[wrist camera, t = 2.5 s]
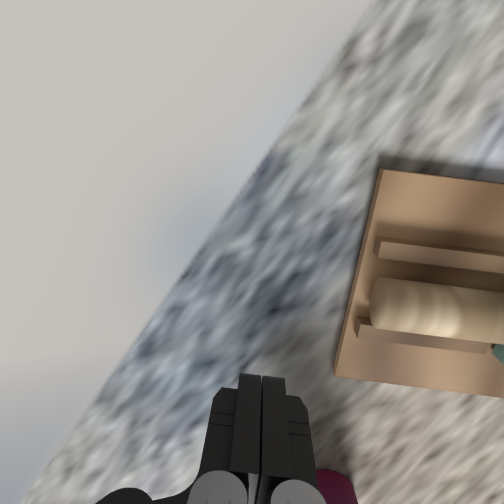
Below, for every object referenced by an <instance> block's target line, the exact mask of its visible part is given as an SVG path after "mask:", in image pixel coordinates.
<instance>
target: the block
mask: <svg viewBox="0 0 504 504" xmlns="http://www.w3.org/2000/svg"><path fill="white" fill-rule="evenodd" d="M492 354H493V355H494V356H495V357H496V358H497V359H498V360H499V361H500V362H501V363H502V364H503V365H504V345H503V344H495V346H494V349H493V351H492Z"/></svg>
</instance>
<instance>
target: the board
mask: <svg viewBox="0 0 504 504" xmlns="http://www.w3.org/2000/svg"><path fill="white" fill-rule="evenodd" d="M379 277H385V278H393V279H401V280H409V281H417V282H424V283H432V284H440V285H448V286H456V287H464V288H472V289H480V290H488V291H496V292H504V184H503V183H495V182H487V181H479V180H471V179H463V178H454V177H446V176H438V175H430V174H422V173H414V172H406V171H398V170H390V169H382V168H379V173H378V177H377V181H376V185H375V190H374V194H373V198H372V203H371V207H370V211H369V216H368V220H367V224H366V228H365V233H364V237H363V241H362V246H361V250H360V254H359V259H358V263H357V267H356V271H355V276H354V280H353V284H352V289H351V293H350V297H349V302H348V306H347V310H346V314H345V319H344V323H343V327H342V332H341V336H340V340H339V344H338V349H337V353H336V357H335V362H334V366H333V372H334V376H335V377H342V378H350V379H358V380H366V381H374V382H382V383H389V384H397V385H405V386H413V387H421V388H429V389H437V390H445V391H453V392H461V393H469V394H476V395H484V396H492V397H500V398H504V365H503V364H502V363H501V362H500V361H499V360H498V359H497V358H496V357H495V356H494V355H493V354H492V351H493V349H494V346H495V343H487V342H479V341H471V340H463V339H455V338H447V337H439V336H431V335H423V334H415V333H407V332H399V331H391V330H383V329H376V328H374V327H373V325H372V323H371V320H370V314H369V302H370V295H371V291H372V287H373V285H374V283H375V281H376V280H377V279H378V278H379Z"/></svg>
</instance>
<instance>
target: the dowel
mask: <svg viewBox="0 0 504 504" xmlns="http://www.w3.org/2000/svg"><path fill="white" fill-rule="evenodd" d="M369 314H370V320H371V323H372V325H373V327H374V328H376V329H383V330H391V331H399V332H407V333H415V334H423V335H431V336H439V337H447V338H455V339H463V340H471V341H479V342H487V343H495V344H503V345H504V292H496V291H488V290H480V289H472V288H464V287H456V286H448V285H440V284H432V283H424V282H417V281H409V280H401V279H393V278H385V277H379V278H378V279H377V280H376V281H375V283H374V285H373V287H372V291H371V295H370V302H369Z"/></svg>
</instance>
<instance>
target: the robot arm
mask: <svg viewBox="0 0 504 504" xmlns="http://www.w3.org/2000/svg"><path fill="white" fill-rule="evenodd" d="M96 504H327V503H326V501H325V500H324V498H323V497H322V495H321V493H320V490H319V488H318V483H317V476H316V469H315V461H314V454H313V447H312V440H311V433H310V426H309V418H308V411H307V408H306V407H305V405H304V404H303V402H302V400H301V399H300V397H297V396H289V395H286V389H285V379H284V378H278V377H270V376H263V377H262V381H261V375H253V374H244V373H240V375H239V382H238V389H232V388H224V387H222V388H221V389H220V390H219V392H218V393H217V394H216V395H215V397H214V398H213V402H212V407H211V413H210V417H209V422H208V428H207V433H206V438H205V443H204V448H203V453H202V458H201V464H200V469H199V472H198V475H197V477H196V479H195V480H194V482H193V483H192V484H191V485H190V486H189V487H188V488H187V489H186V490H184V491H183V492H181V493H179V494H177V495H175V496H171V497H167V498H163V499H158V500H153V501H152V499H151V498H150V496H149V495H148V494H147V493H145V492H144V491H142V490H140V489H137V488H122V489H119V490H116V491H114V492H111V493H110V494H108V495H107V496H105V497H104V498H102V499H101V500H100V501H98V502H97V503H96Z"/></svg>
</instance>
